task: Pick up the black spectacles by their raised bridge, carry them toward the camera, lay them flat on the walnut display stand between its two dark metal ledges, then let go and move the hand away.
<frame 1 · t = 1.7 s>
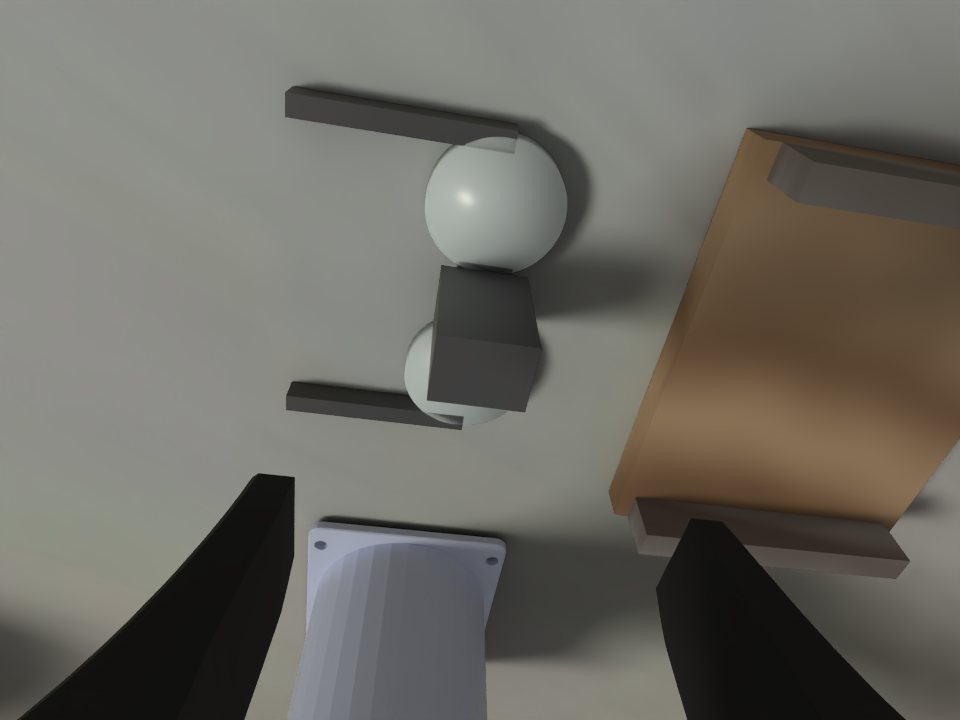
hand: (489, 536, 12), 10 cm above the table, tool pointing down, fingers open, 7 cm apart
spectacles: (478, 289, 20), on the table
display stand: (818, 362, 22), on the table
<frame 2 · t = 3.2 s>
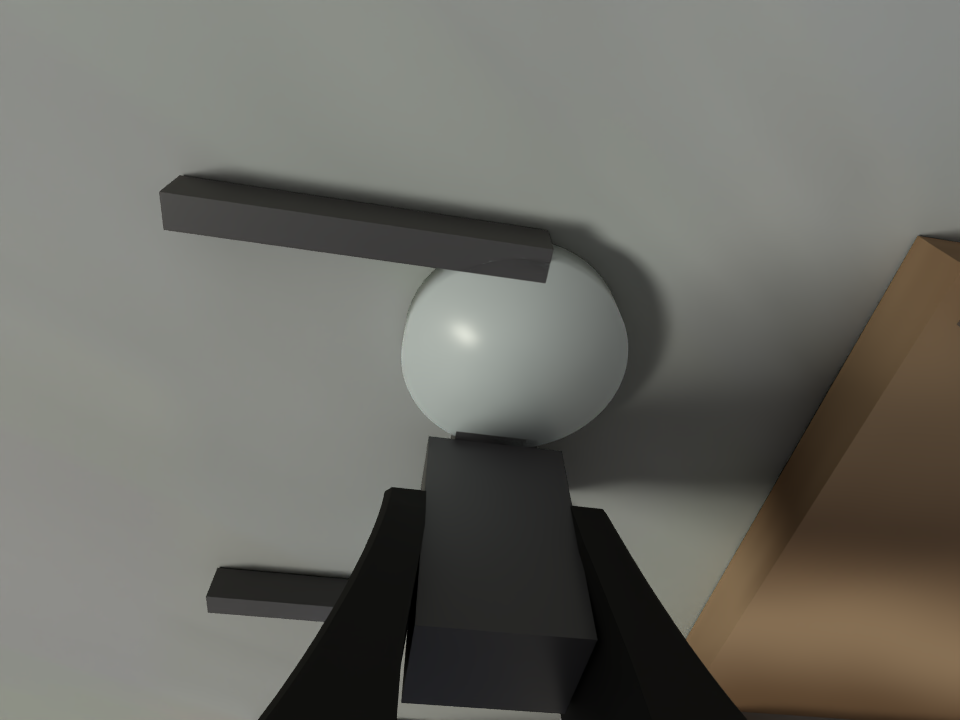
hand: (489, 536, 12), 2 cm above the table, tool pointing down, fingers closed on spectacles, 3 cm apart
spectacles: (486, 454, 13), on the table, touching gripper
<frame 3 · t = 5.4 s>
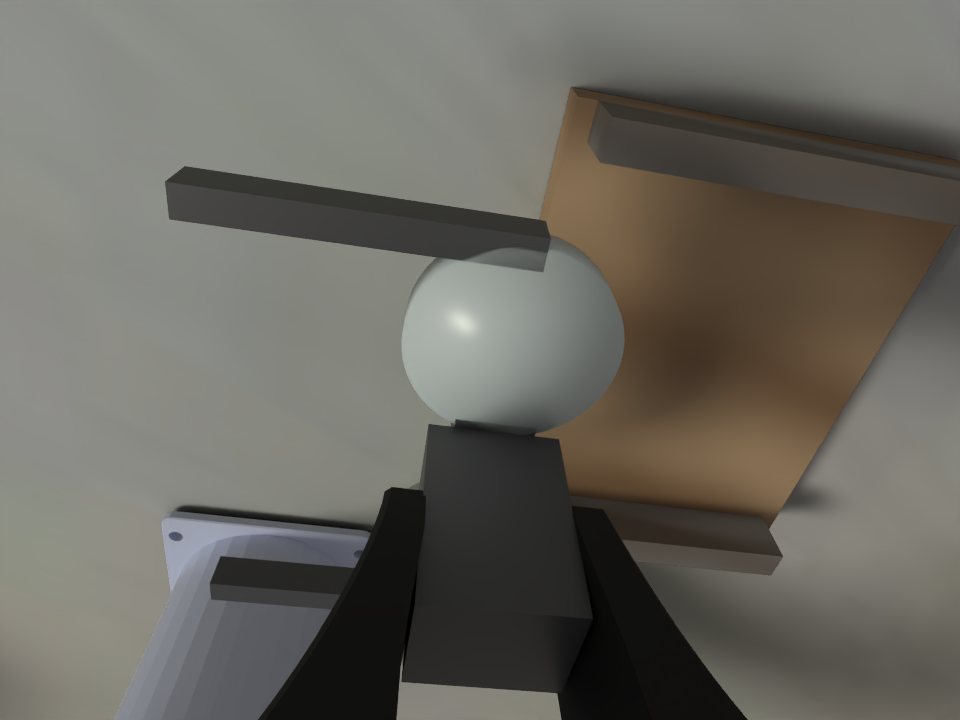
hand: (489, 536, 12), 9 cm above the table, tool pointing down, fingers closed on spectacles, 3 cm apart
spectacles: (485, 443, 14), point 7 cm above the table, touching gripper
display stand: (680, 345, 21), on the table
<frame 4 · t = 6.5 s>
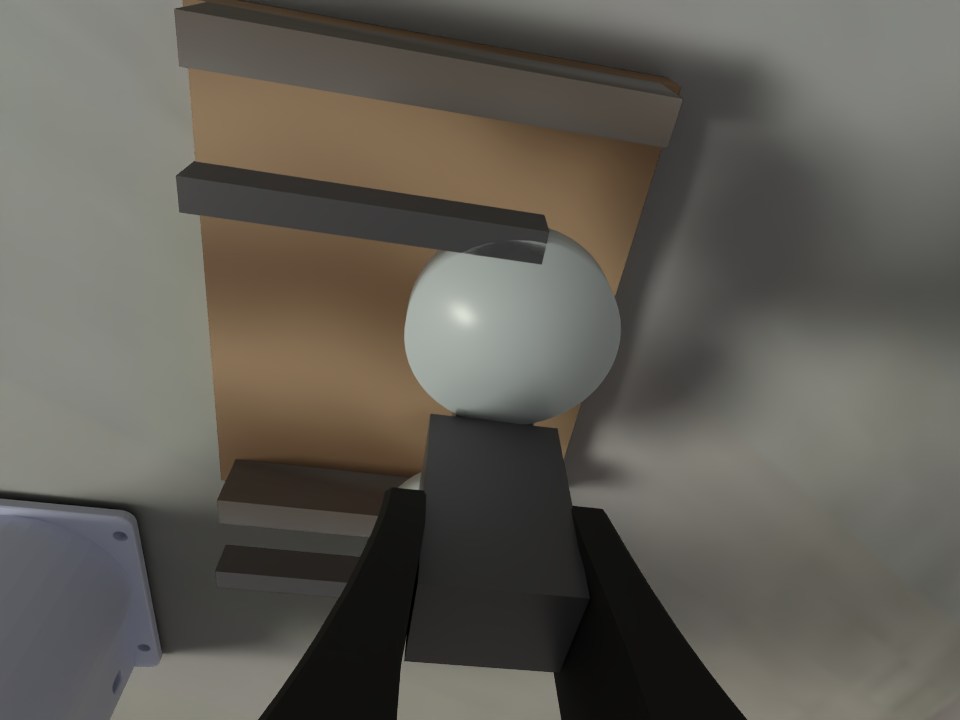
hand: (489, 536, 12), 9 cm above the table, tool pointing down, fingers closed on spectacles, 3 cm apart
spectacles: (485, 433, 14), point 6 cm above the table, touching gripper
display stand: (412, 298, 19), on the table
when the fingers open (4 cm above the table, at t = 7.6 s): spectacles stays where it is, resting on display stand.
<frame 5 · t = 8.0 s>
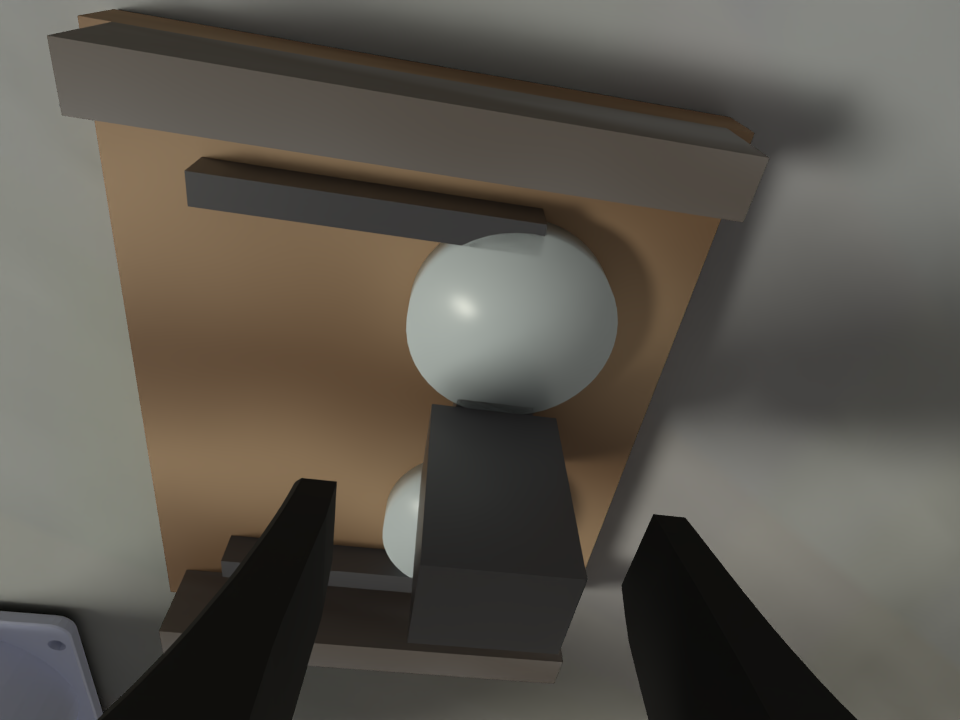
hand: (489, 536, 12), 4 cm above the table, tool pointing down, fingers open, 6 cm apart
spectacles: (485, 424, 14), point 1 cm above the table, touching display stand
display stand: (400, 383, 15), on the table
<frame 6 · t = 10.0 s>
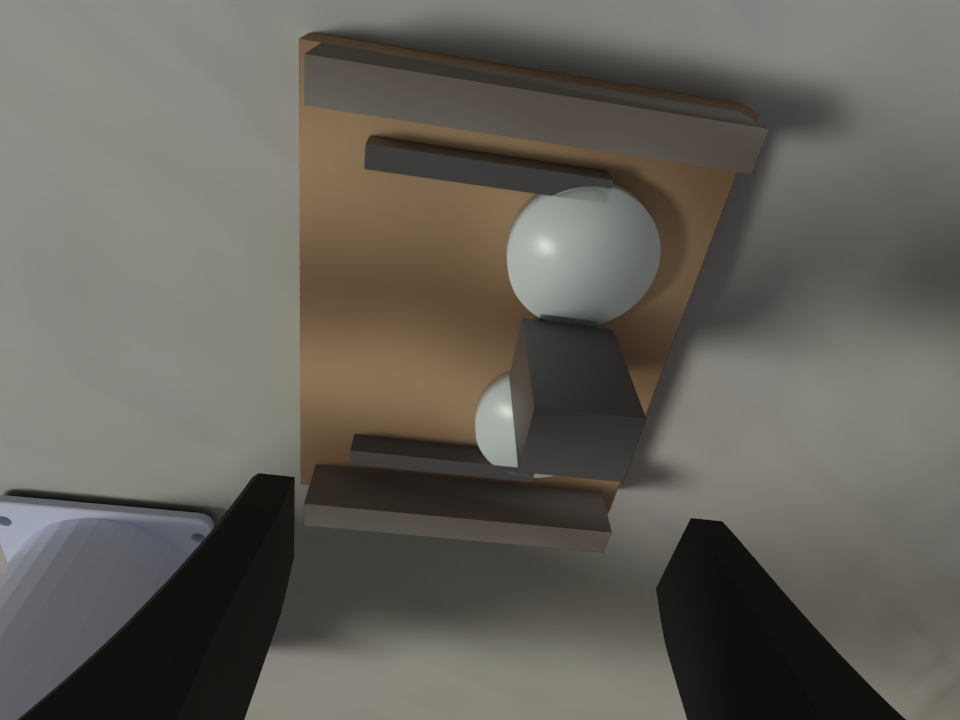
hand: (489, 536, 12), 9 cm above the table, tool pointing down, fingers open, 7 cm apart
spectacles: (556, 339, 19), point 1 cm above the table, touching display stand
display stand: (488, 311, 20), on the table
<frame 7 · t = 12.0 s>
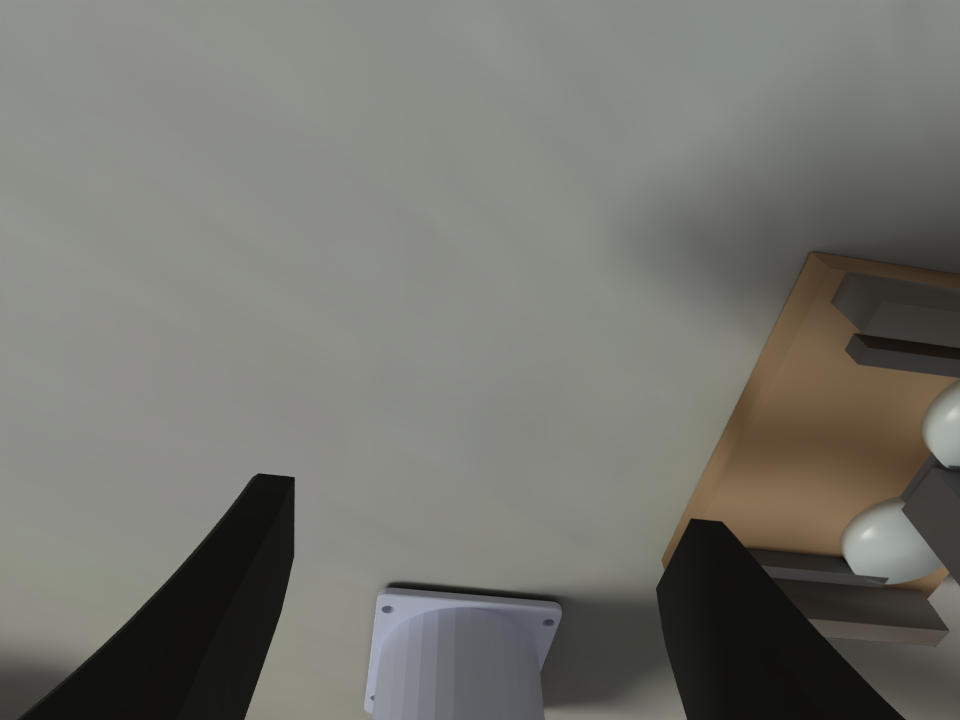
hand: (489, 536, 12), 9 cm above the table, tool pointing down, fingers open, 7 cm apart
spectacles: (936, 476, 22), point 1 cm above the table, touching display stand
display stand: (865, 448, 23), on the table
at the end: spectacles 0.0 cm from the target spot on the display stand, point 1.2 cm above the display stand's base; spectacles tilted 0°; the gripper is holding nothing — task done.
